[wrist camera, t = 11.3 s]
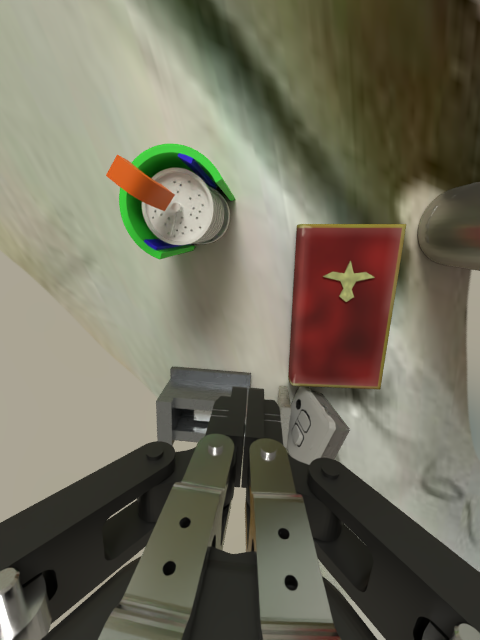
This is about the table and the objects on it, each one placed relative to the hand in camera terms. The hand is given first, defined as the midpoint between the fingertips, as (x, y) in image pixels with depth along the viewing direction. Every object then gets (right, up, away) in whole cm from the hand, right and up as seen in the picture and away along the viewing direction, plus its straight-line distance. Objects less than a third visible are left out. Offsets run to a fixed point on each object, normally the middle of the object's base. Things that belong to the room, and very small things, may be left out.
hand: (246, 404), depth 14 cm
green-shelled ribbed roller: (-6, +18, +24) cm, 30 cm away
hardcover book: (+13, +6, +26) cm, 30 cm away
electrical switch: (+10, -10, +31) cm, 34 cm away
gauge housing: (-5, -8, +31) cm, 32 cm away
